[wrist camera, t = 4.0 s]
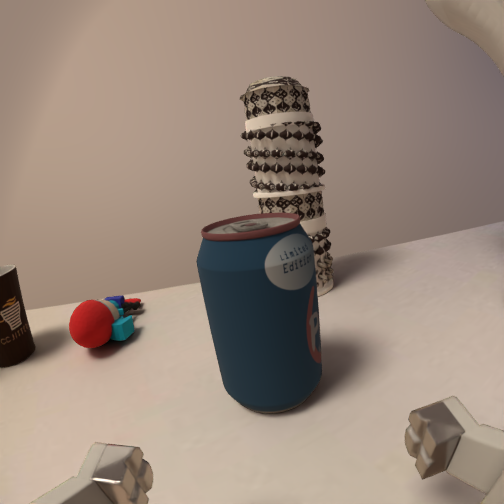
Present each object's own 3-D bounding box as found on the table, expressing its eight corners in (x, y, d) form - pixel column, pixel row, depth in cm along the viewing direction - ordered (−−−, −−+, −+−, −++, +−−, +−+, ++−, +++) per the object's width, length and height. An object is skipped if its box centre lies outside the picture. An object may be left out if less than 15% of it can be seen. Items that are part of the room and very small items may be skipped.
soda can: (340, 395, 19) (334, 217, 16) (244, 433, 17) (203, 244, 14) (295, 351, 26) (279, 207, 23) (216, 376, 24) (183, 226, 21)
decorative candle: (327, 304, 33) (298, 64, 27) (250, 299, 38) (218, 84, 31) (343, 274, 41) (321, 82, 35) (279, 272, 45) (255, 95, 39)
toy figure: (100, 319, 41) (55, 358, 26) (94, 285, 40) (44, 311, 25) (149, 316, 42) (121, 358, 27) (144, 281, 41) (111, 307, 26)
